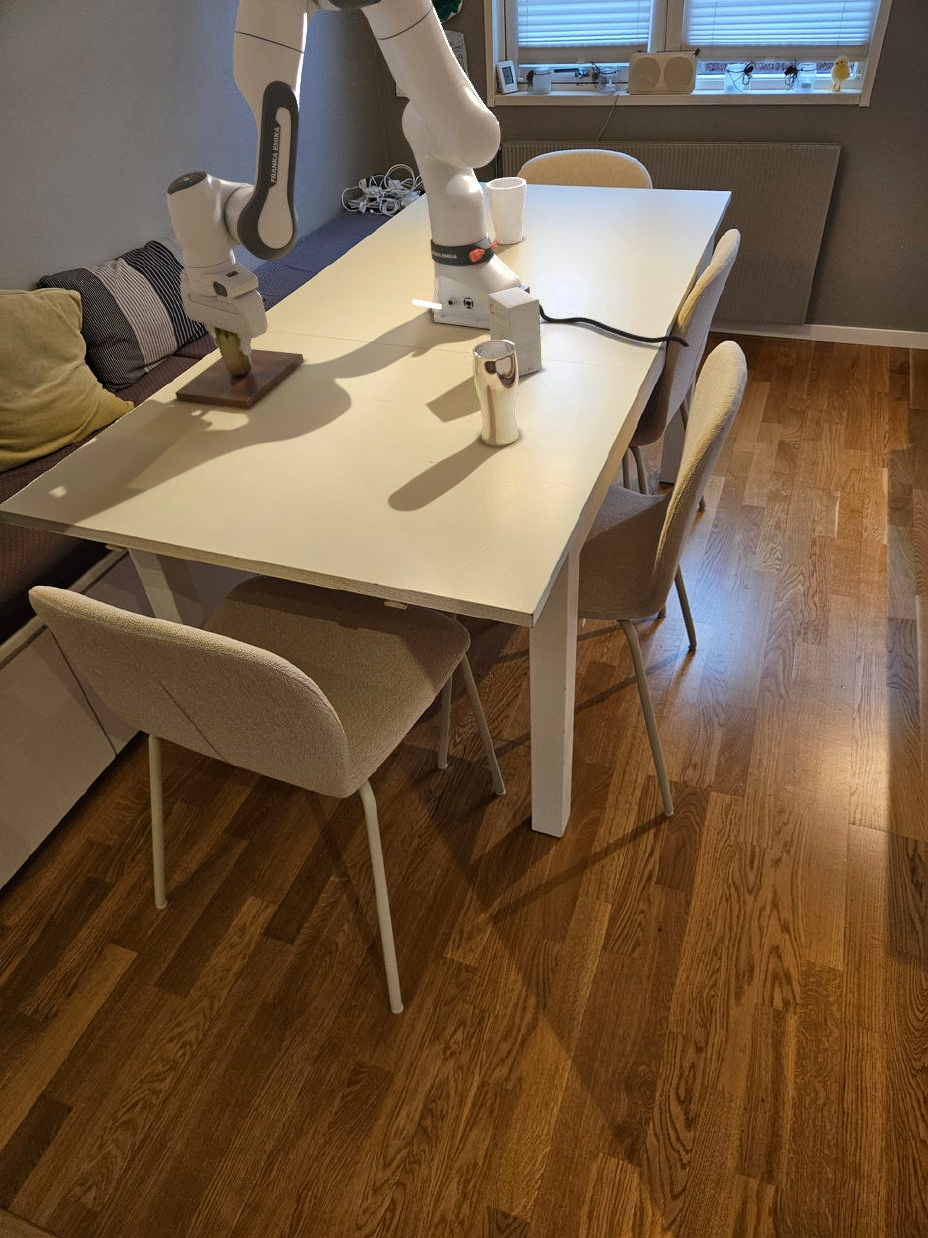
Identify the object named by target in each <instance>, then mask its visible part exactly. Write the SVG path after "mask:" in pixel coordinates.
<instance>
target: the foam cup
mask: <svg viewBox="0 0 928 1238" xmlns="http://www.w3.org/2000/svg"><path fill="white" fill-rule="evenodd" d="M485 186H486V196H487V198H488V204H489V207H490V214H491V219H492V220H491V221H492V224H493V229H494V235H495V242H496V241H498V243H497V244H500V245H513V244H517V243H520V242H521V241H522V240H523V236H524V235H523V234H524V223H525V222H524V220H525V208H526V207H525V206H526V197H527V196H526V195H527V189H528V188H527V180H526V179H525V178H521V177H515V176H514V177H510V176H509V177H502V178H501V177H500V178H495V179H493V180H491V181H488V182H487V183H486V184H485Z"/></svg>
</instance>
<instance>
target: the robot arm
mask: <svg viewBox="0 0 928 1238" xmlns="http://www.w3.org/2000/svg"><path fill="white" fill-rule="evenodd" d="M318 10H322V11H326V12H338V11H355V10H361V12H362V13H363V14H364V16H365V18H367V21H368V24H369V26H370V29H371V30H372V33H373V35H374V37H375V40H376V42H377V44H378V46H379V49H380V51H381V53H382V56H383V58H384V61H385V62H386V64H387V66H388V67H387V68H388V69H389V72H390V74H391V76H392V78H393V80H394V81H395V84H396V85H397V87H398V88H399V89H400V90H401V91H402V92H403V93H404V94H405V96H406V97H407V99H408V100H409V102H408V103H407V104H406V106H405V108H404V110H403V112H402V117H401V127H402V128H401V129H402V132H403V135H404V137H405V140H406V141H407V142H408V144H409V146H410V148H411V150H412V153H413V156H414V159H415V162H416V166H417V170H418V173H419V175H420V178H421V183H422V185H423V189H424V192H425V197H426V201H427V208H428V216H429V217H428V218H429V224H430V232H431V239H430V241H429V242H430V243H429V244H430V253H431V254H430V255H431V260H432V261H433V266H434V267H433V268H434V269H433V270H434V271H433V272H434V276H433V278H434V279H433V280H434V281H433V283H434V284H433V298H432V299H433V301H432V302H429V301H423V300H417V299H412V303H413V305H416V306H421V307H428V308H431V310H432V313H433V317H434V318H433V321H434V322H436V323H441V324H448V325H455V326H456V325H457V326H464V327H471V328H480V329H488V330H490V321H489V306H488V295H489V294H492V293H496V292H500V291H504V290H508V289H511V288H515V287H519V288H520V289H522V290H524V291H525V292H527V293H529V294H530V295H531V289H530V287H531V286H529V285H523V284H522V281H521V279H520V278H519V276H517V274H516V273H515V272H513V271H512V270H511V269H510V268H509V267H508V266H507V265H506V264H505V263H504V262H503V261H502V260H501V259H500V258H499V257H497V256H496V255H495V254H496V252H495V251H496V250H495V248H498V247H499V245H498V244H499V243H498V241H496V240H495V241H493V242H492V241H491V238H490V236H489V234H488V232H487V225H486V207H485V195H484V192H483V189H482V186H481V185H480V184H479V182H478V179H477V178H476V175H475V172H474V170H473V169H479V168H483V167H484V166H487V165H488V164H489V163H490V162H492V160H493V159H494V158H495V156H496V155H497V153H498V152H499V151H498V150H499V148H500V144H501V137H502V135H501V127H500V123H499V121H498V119H497V117H496V116H495V115H494V114H493V113H492V112H491V111H490V110H489V109H488V108H487V107H486V105H485V104H484V103H483V101H482V100H481V98H480V97H479V95H478V93H477V91H476V90H475V88H474V86H473V84H472V83H471V81H470V80H469V78H468V77H467V75H466V73H465V72H464V70H463V69H462V67H461V66H460V63H459V62H458V60H457V59H456V57H455V55H454V52H453V51H452V48H451V46H450V44H449V42H448V40H447V39H448V38H447V36H446V35H445V31H444V30H443V26H442V25H441V22H440V19H439V17H438V15H437V12H436V8H435V6H434V4H433V2H432V0H239V2H238V8H237V12H236V13H237V14H236V19H235V21H236V22H235V25H234V27H235V28H234V34H233V35H234V37H233V44H232V70H233V73H232V74H233V80H234V83H235V84H236V87H237V89H238V90H239V92H240V94H241V95H242V97H243V98H244V99H245V101H246V103H247V105H248V106H249V108H250V110H251V113H252V115H253V117H254V120H255V124H256V130H257V142H256V143H257V145H256V159H255V160H256V161H255V172H254V173H255V174H254V175H255V176H254V185H253V184H250V183H247V182H234V181H229V180H225V179H221V178H218V177H215V176H213V175H211V174H209V173H207V172H206V171H199V170H197V171H193V172H188V173H185V174H182V175H180V176H179V177H177V178H176V179H174V180H173V181H172V182H171V183H169V186H168V188H167V191H166V201H167V208H168V214H169V218H170V221H171V222H170V223H171V226H172V229H173V234H174V237H175V240H176V241H177V242H178V244H179V246H180V249H181V253H182V263H183V267H184V268H183V269H182V270H180V271H181V272H180V274H179V278H180V284H179V291H180V295H181V300H182V304H183V308H184V312H185V314H186V315H187V317H188V318H189V320H191V321H194V322H198V323H201V324H204V325H205V329H206V331H207V332H208V333H209V336H210V337H212V339H213V343H214V345H215V347H218V348H219V346H218V342H217V338H216V334H215V330H214V327H217V328H220V329H224V330H227V331H230V332H234V333H237V334H238V338H241V343H240V345H238V349H239V352H240V354H243V355H246V356H247V355H249V354H251V353H252V349H253V348H252V345H251V343H252V339H255V338H258V337H260V336H262V335H264V334H265V333H266V332H267V330H268V328H269V324H268V318H267V314H266V309H265V306H264V302H263V299H262V296H261V294H260V292H259V291H258V290H257V289H256V288H258V287H259V280H258V277H257V275H255V274H254V273H253V272H252V271H250V270H249V269H247V268H246V267H245V266H244V265H242V264H241V262H239V261H238V260H236V257H235V254H234V253H235V252H234V249H235V247H239V246H242V247H244V248H245V249H246V250H247V251H248V252H249V253H250V254H251V255H253V256H254V257H255V258H258V259H259V260H262V261H266V262H267V261H268V262H270V261H277V260H279V259H282V258H284V257H285V256H286V255H288V254H289V253H290V252H291V251H292V249H293V248H294V247H295V245H296V243H297V240H298V237H299V232H300V224H299V217H298V212H297V208H296V201H295V185H296V170H297V169H296V168H297V156H298V146H299V145H298V144H299V130H300V129H299V126H300V90H301V89H300V87H301V79H302V71H303V69H302V68H303V65H304V57H305V49H306V48H305V47H306V40H307V39H306V38H307V31H308V29H309V25H310V22H311V20H312V18H313V17H314V14H315V13H316V12H317V11H318ZM539 309H540V318H541V319H542V320H544V321H545V322H548V323H552V324H553V323H554V324H555V323H556V324H564V323H565V324H569V323H571V324H572V323H583V324H587V325H588V324H589V325H592V326H595V327H597V328H600V329H601V330H603V331H606V332H608V333H611V334H615V335H617V336H621V337H624V338H627V339H629V340H634V341H636V342H637V341H638V342H641V343H648V344H658V343H664V342H676V343H678V344H680V345H681V346H682V347H684V348H689V347H690V345H689V343H688V342H687V341H686V339H684V338H682V337H680V336H678V335H665V336H659V337H648V336H642V335H637V334H634V333H632V332H631V333H630V332H627V331H624V330H621V329H618V328H615V327H613V326H610V325H607V324H605V323H603V322H601V321H598V320H595V319H592V318H588V317H582V316H575V317H567V318H553V317H550V316H548V315H546V313H545V311H544V308H543V306H542V305H541V304H540V303H539Z"/></svg>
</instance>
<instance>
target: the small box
mask: <svg viewBox="0 0 928 1238" xmlns="http://www.w3.org/2000/svg"><path fill="white" fill-rule="evenodd" d="M539 304H540V298H537V297H535V296H534V295H532V294H531V293H530V294H529V293H527V292H525V291H524V290H522V289H520V288H519V287H515V288H511V289H508V290H504V291H500V292H496V293H492V294H489V295H488V306H489V321H490V329H489V333H490V340H505V341H509V342H511V343H513V344H514V345H515V347H516V356H517V363H518V378H519V377H522V376H524V375H525V376H526V375H528V374H531V373H535V372H538V371H541V370H542V367H543V366H542V341H541V316H540V309H539Z"/></svg>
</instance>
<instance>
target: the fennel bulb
mask: <svg viewBox="0 0 928 1238" xmlns="http://www.w3.org/2000/svg"><path fill="white" fill-rule="evenodd" d="M214 330H215V334H216V338H217V342H218V346H219V347H218V346H217V347H218V349H219V353H220V356H221V357H223V360H224V363H225V366H226V368H227V370H228V372H229V373H230V374H231V375H233V376H242V375H245V374H247V373H248V372H250V370H251V369H252V362H251V358H250V356H249V355H247V356H246V355H243V354H240V352H239V349H238V345H240V343H241V338H238V334H237V333H234V332H230V331H227V330H224V329H220V328H217V327H214Z"/></svg>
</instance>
